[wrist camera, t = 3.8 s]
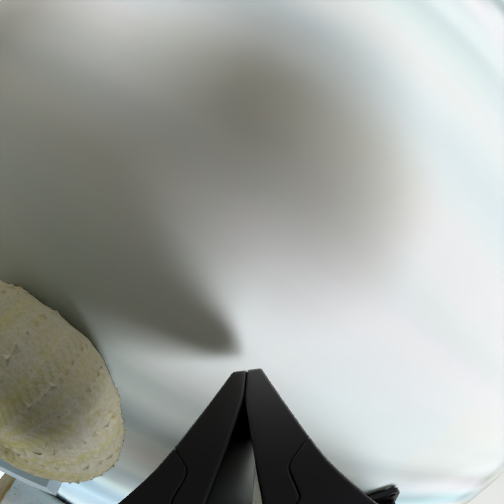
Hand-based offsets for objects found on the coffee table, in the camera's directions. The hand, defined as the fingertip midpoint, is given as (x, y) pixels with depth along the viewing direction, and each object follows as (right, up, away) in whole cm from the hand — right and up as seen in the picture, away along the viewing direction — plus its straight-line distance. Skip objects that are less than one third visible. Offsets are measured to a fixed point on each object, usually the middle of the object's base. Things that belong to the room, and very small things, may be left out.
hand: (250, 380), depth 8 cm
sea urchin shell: (-9, -1, +2) cm, 9 cm away
